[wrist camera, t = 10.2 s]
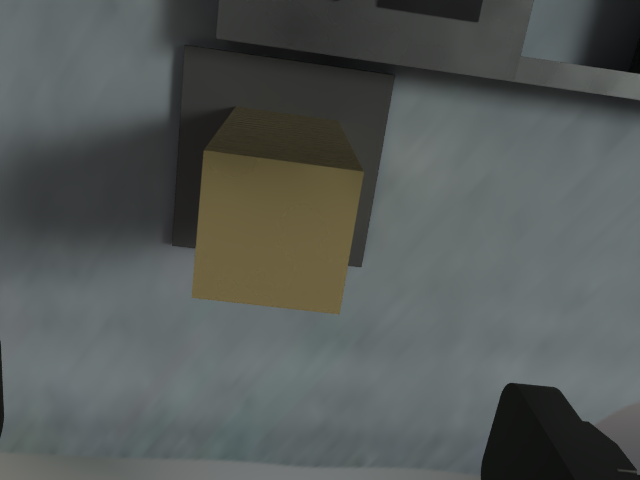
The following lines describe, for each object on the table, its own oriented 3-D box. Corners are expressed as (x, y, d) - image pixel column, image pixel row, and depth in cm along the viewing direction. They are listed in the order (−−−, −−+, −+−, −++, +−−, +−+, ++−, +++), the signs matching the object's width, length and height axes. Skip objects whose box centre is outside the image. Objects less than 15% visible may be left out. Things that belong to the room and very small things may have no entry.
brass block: (236, 106, 26) (203, 150, 16) (338, 120, 26) (363, 171, 17) (226, 205, 27) (191, 297, 18) (323, 217, 28) (339, 314, 18)
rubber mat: (186, 44, 25) (184, 45, 25) (393, 74, 26) (395, 75, 26) (174, 242, 28) (172, 245, 28) (360, 263, 29) (361, 267, 29)
